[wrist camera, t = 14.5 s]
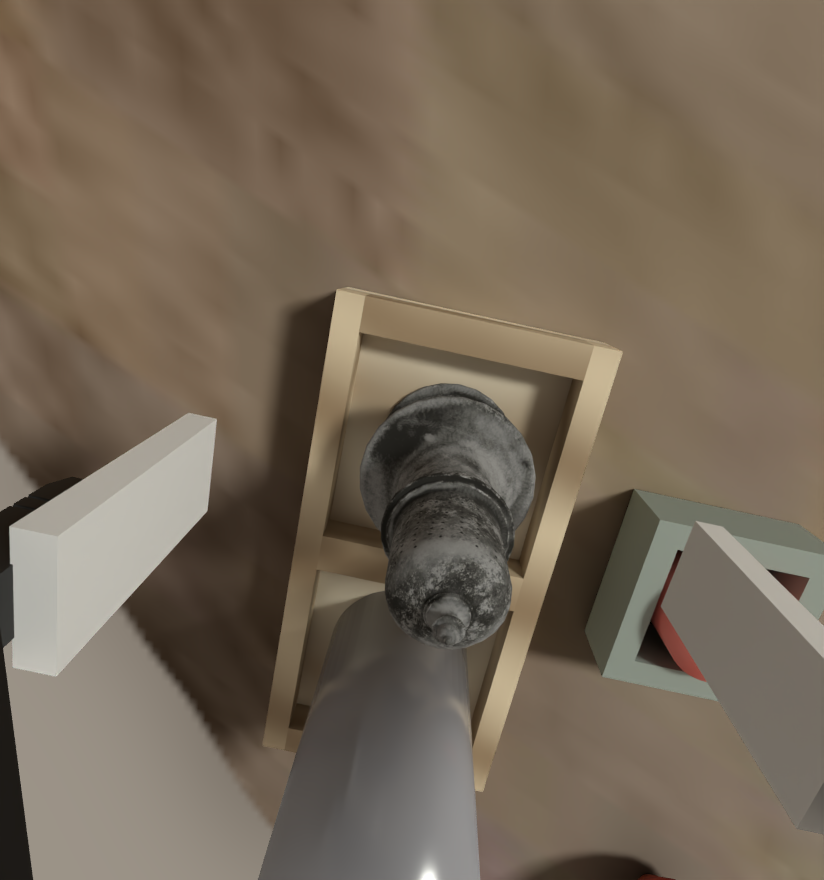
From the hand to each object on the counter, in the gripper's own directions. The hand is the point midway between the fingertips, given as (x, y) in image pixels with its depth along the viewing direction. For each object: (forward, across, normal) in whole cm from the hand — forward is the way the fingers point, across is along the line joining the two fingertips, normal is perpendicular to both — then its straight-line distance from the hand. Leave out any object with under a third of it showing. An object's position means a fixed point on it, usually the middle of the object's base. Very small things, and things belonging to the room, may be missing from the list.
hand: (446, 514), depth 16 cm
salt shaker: (+7, 0, +1) cm, 7 cm away
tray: (+8, 0, +5) cm, 10 cm away
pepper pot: (+7, 0, +10) cm, 12 cm away
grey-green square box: (+8, -12, +4) cm, 15 cm away
